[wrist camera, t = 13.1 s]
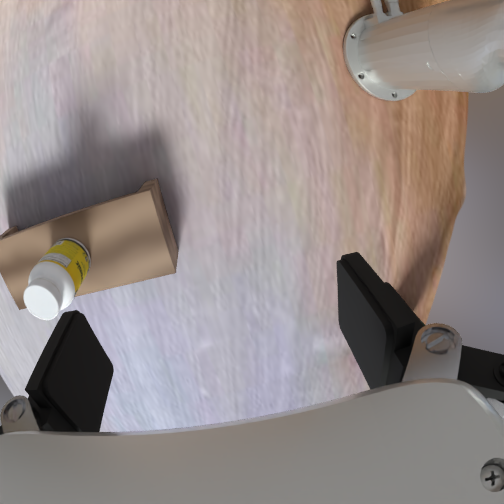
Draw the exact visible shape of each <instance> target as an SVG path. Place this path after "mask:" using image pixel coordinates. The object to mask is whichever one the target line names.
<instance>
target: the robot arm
mask: <svg viewBox="0 0 504 504" xmlns="http://www.w3.org/2000/svg"><path fill="white" fill-rule="evenodd" d="M370 1H371V5H372V7H373V11H374V14H369V15H366V16H363V17H361V18H359V19H357V20H356V21H355V22H354V23H352V24H351V26H350V27H349V28H348V30H347V32H346V35H345V38H344V43H343V53H344V59H345V63H346V65H347V68H348V70H349V72H350V74H351V76H352V78H353V79H354V80H355V81H356V83H357V84H358V85H359V86H360V87H361V88H362V89H363V90H364V91H365V92H367V93H369V94H370V95H372V96H374V97H376V98H378V99H382V100H387V101H397V100H402V99H405V98H407V97H409V96H410V95H412V94H413V93H414V92H415V91H416V90H443V91H460V92H476V93H485V92H490V91H493V90H495V89H498V88H499V87H501V86H502V85H503V84H504V0H449V1H445V2H442V3H438V4H435V5H431V6H428V7H424V8H421V9H418V10H414V11H411V12H408V13H405V14H403V12H400V8H399V2H398V0H384V2H385V5H386V7H387V11H388V12H387V13H383V9H382V3H381V0H370ZM351 36H352V38H351ZM358 75H359V76H360V78H359V77H358ZM337 282H338V313H339V325H340V329H341V331H342V333H343V335H344V337H345V339H346V341H347V343H348V345H349V347H350V349H351V351H352V353H353V355H354V357H355V359H356V361H357V363H358V365H359V367H360V369H361V371H362V373H363V375H364V377H365V379H366V381H367V383H368V385H369V387H370V389H371V390H368V391H364V392H360V393H357V394H353V395H350V396H346V397H342V398H339V399H335V400H331V401H327V402H323V403H319V404H315V405H311V406H307V407H302V408H298V409H294V410H289V411H285V412H280V413H275V414H270V415H265V416H260V417H255V418H249V419H243V420H237V421H231V422H224V423H217V424H210V425H202V426H194V427H185V428H175V429H163V430H149V431H130V432H99V431H100V426H101V421H102V417H103V413H104V408H105V404H106V400H107V396H108V392H109V388H110V384H111V380H112V376H113V371H114V370H113V365H112V363H111V361H110V359H109V358H108V356H107V354H106V353H105V351H104V349H103V348H102V346H101V344H100V343H99V341H98V339H97V337H96V336H95V334H94V332H93V330H92V329H91V327H90V325H89V323H88V321H87V319H86V317H85V316H84V314H82V313H80V312H79V311H77V310H75V311H69V312H64V313H63V314H62V316H61V318H60V320H59V321H58V323H57V325H56V327H55V329H54V331H53V333H52V334H51V336H50V338H49V340H48V342H47V344H46V346H45V348H44V350H43V352H42V354H41V356H40V358H39V360H38V362H37V364H36V366H35V368H34V371H33V373H32V375H31V377H30V379H29V381H28V384H27V386H26V388H25V391H26V392H27V393H28V394H29V397H28V399H27V398H26V397H25V396H21V395H19V396H15V397H13V398H11V399H10V400H9V401H7V403H6V404H5V405H4V406H3V408H2V411H1V414H0V420H1V424H2V425H1V426H0V504H504V355H502V354H498V353H493V352H489V351H485V350H480V349H476V348H472V347H467V346H463V345H462V338H461V336H460V334H459V333H458V332H457V331H456V330H455V329H454V328H452V327H450V326H448V325H445V324H438V323H434V324H428V325H426V326H424V325H423V324H422V322H421V321H420V320H419V319H418V317H417V316H416V315H415V314H414V312H413V311H412V310H411V309H410V307H409V306H408V305H407V304H406V303H405V301H404V300H403V299H402V298H401V296H400V295H399V294H398V293H397V292H396V290H395V289H394V288H393V287H392V286H391V285H390V284H389V283H387V282H385V283H384V282H383V281H382V280H381V279H380V277H379V276H378V275H377V274H376V273H375V271H374V270H373V269H372V268H371V267H370V265H369V264H368V263H367V262H366V261H365V260H364V258H363V257H362V256H361V255H360V254H359V253H358V252H355V253H350V254H346V255H342V257H341V260H338V261H337Z"/></svg>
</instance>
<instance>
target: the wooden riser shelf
mask: <svg viewBox="0 0 504 504" xmlns="http://www.w3.org/2000/svg"><path fill="white" fill-rule="evenodd" d="M63 238H72V239H75V240H77V241H79V242H81V243H82V244H83V245H84V246H85V247H86V249H87V250H88V252H89V255H90V259H91V265H90V269H89V271H88V273H87V275H86V277H85V279H84V280H83V282H82V284H81V286H80V287H79V289H78V291H77V293H76V295H75V297H76V296H80V295H85V294H89V293H93V292H97V291H102V290H106V289H110V288H114V287H118V286H123V285H127V284H131V283H135V282H140V281H144V280H148V279H152V278H157V277H161V276H165V275H169V274H173V273H176V267H177V259H178V248H177V245H176V242H175V238H174V235H173V232H172V228H171V225H170V222H169V218H168V215H167V211H166V208H165V204H164V201H163V197H162V194H161V190H160V187H159V183H158V179H154V180H150V181H147V182H145V183H144V184H143V185H142V187H141V188H140V189H139V191H138V192H135V193H131V194H128V195H124V196H121V197H118V198H114V199H111V200H108V201H105V202H101V203H98V204H95V205H92V206H89V207H86V208H83V209H80V210H77V211H74V212H71V213H68V214H65V215H62V216H59V217H56V218H54V219H51V220H48V221H45V222H43V223H40V224H37V225H34V226H32V227H29V228H26V229H24V230H21V231H19V232H18V229H17V226H14V227H12V228H9V229H8V230H7V231H5V232H4V233H3V234H2V235H0V273H1V275H2V277H3V279H4V281H5V283H6V285H7V287H8V289H9V291H10V293H11V295H12V297H13V299H14V301H15V303H16V305H17V306H18V308H19V310H21V309H25V308H27V307H26V305H25V303H24V291H25V289H26V288H27V286H28V279H29V275H30V272H31V271H32V269H33V268H34V266H35V265H36V264H37V263H38V262H39V261H40V259H41V258H42V257H43V256H44V255H45V254H46V253H47V251H48V250H49V249H50V248H51V247H52V246H53V245H54V244H55V243H56V242H57V241H58V240H60V239H63Z"/></svg>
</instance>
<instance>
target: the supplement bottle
mask: <svg viewBox="0 0 504 504" xmlns="http://www.w3.org/2000/svg"><path fill="white" fill-rule="evenodd" d="M90 265H91V259H90V255H89V252H88V250H87V249H86V247H85V246H84V245H83V244H82V243H81V242H79V241H77V240H75V239H72V238H63V239H60V240H58V241H57V242H56V243H55V244H54V245H53V246H52V247H51V248H50V249H49V250H48V251H47V253H46V254H45V255H44V256H43V257H42V258H41V259H40V261H39V262H38V263H37V264H36V265H35V266H34V268H33V269H32V271H31V272H30V275H29V279H28V286H27V288H26V289H25V291H24V303H25V305H26V307H27V309H28V310H29V311H30V312H31V313H32V314H33V315H34V316H35V317H37V318H39V319H42V320H51V319H53V318H55V317H56V316H57V314H58V312H59V311H60V310H62V309H65V308H66V307H68V306H69V305H70V303H71V302H72V300H73V299H74V297H75V295H76V293H77V291H78V289H79V287H80V286H81V284H82V282H83V280H84V279H85V277H86V275H87V273H88V271H89V269H90Z"/></svg>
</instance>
